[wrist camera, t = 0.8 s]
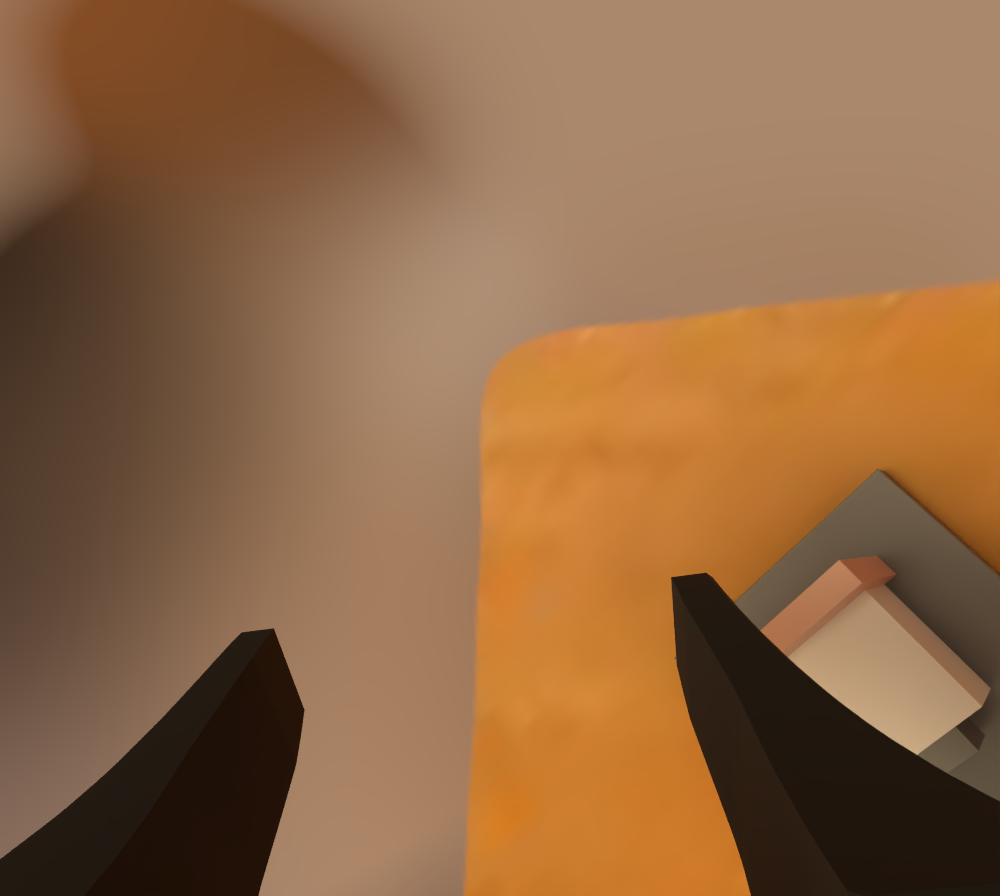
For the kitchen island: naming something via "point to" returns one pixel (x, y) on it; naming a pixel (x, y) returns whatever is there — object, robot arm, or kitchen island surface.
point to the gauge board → (907, 591)
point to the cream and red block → (883, 661)
